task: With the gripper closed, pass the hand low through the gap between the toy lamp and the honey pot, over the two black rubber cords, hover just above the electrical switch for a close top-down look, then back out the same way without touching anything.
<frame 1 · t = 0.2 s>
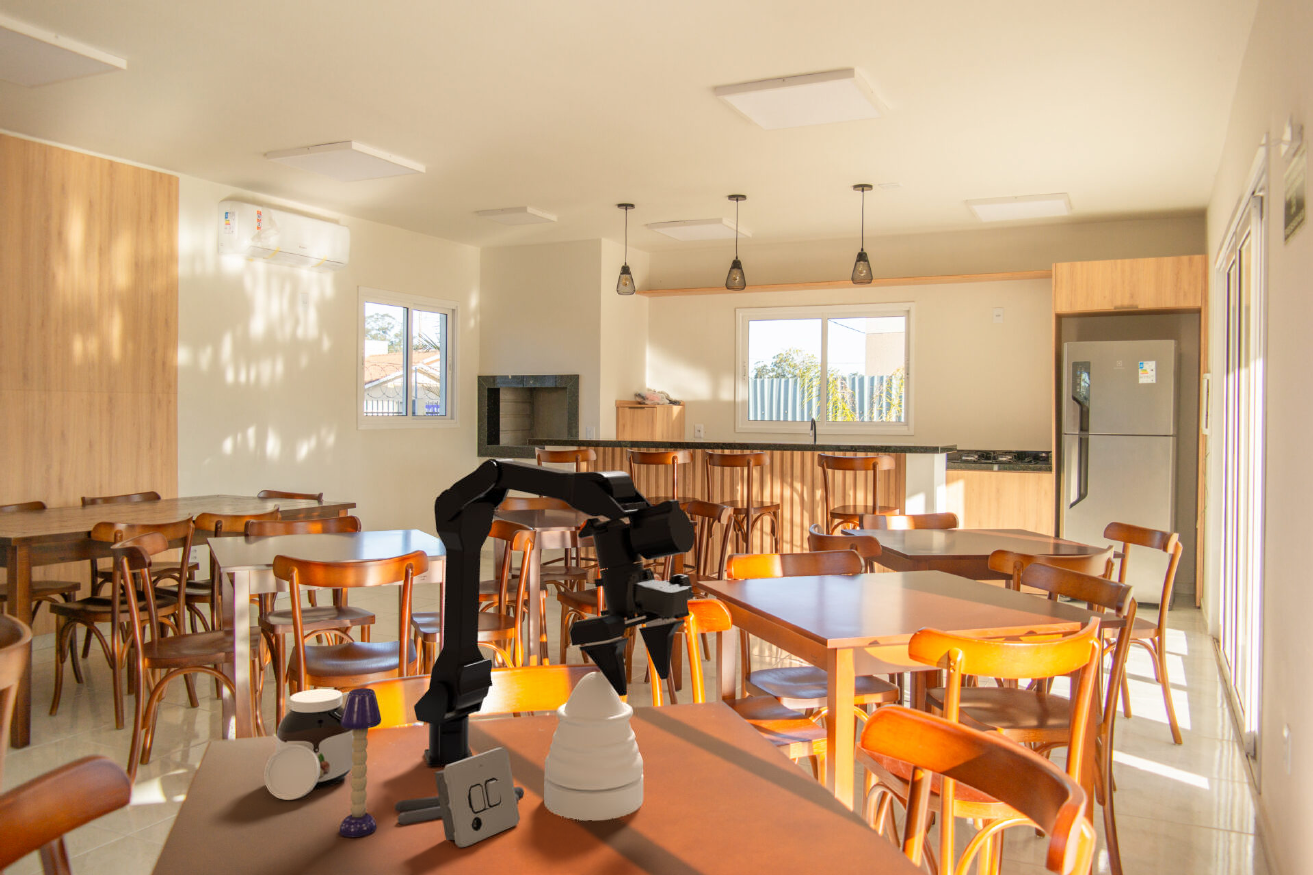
hand: (644, 686, 120), 15 cm above the table, tool pointing down, fingers open, 9 cm apart
cord 1: (460, 804, 121), on the table
cord 2: (459, 814, 118), on the table
toy lamp: (360, 831, 113), on the table
spread jar: (310, 787, 127), on the table
honey pot: (593, 802, 122), on the table
electrical switch: (475, 833, 112), on the table
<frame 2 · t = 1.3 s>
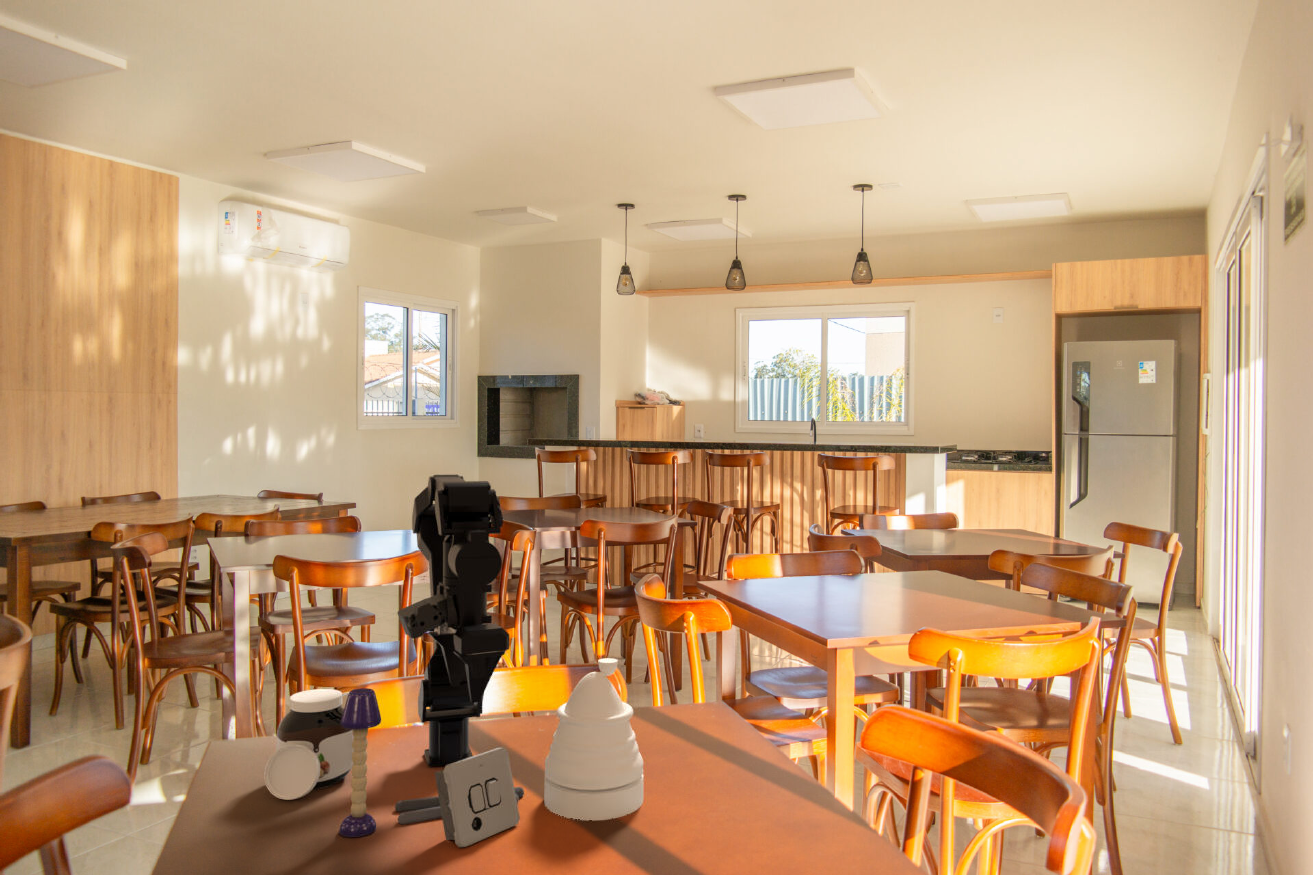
hand: (464, 693, 124), 13 cm above the table, tool pointing down, fingers open, 9 cm apart
nothing on the table moved.
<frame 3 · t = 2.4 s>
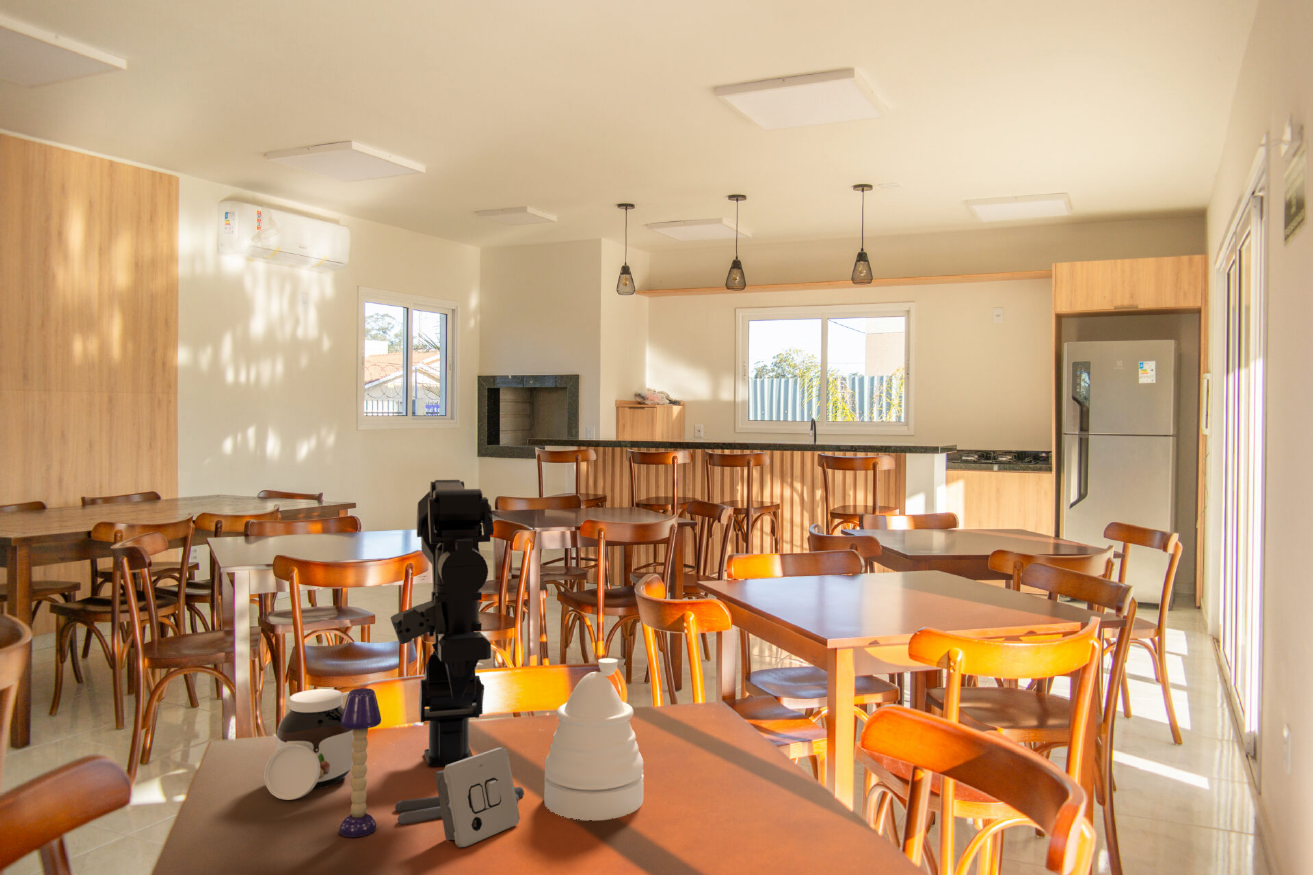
hand: (456, 699, 126), 12 cm above the table, tool pointing down, fingers closed
nothing on the table moved.
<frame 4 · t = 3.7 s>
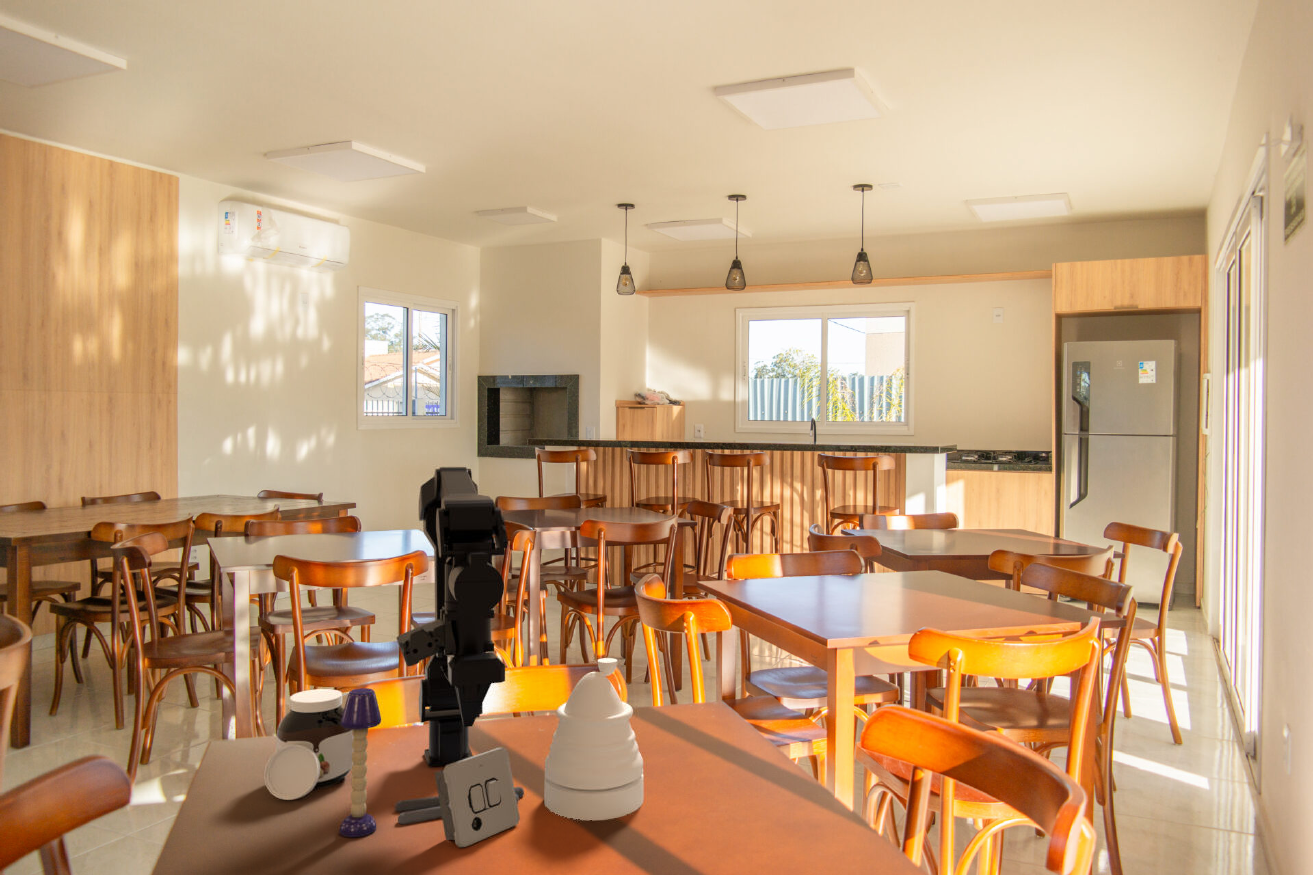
hand: (467, 725, 117), 11 cm above the table, tool pointing down, fingers closed
nothing on the table moved.
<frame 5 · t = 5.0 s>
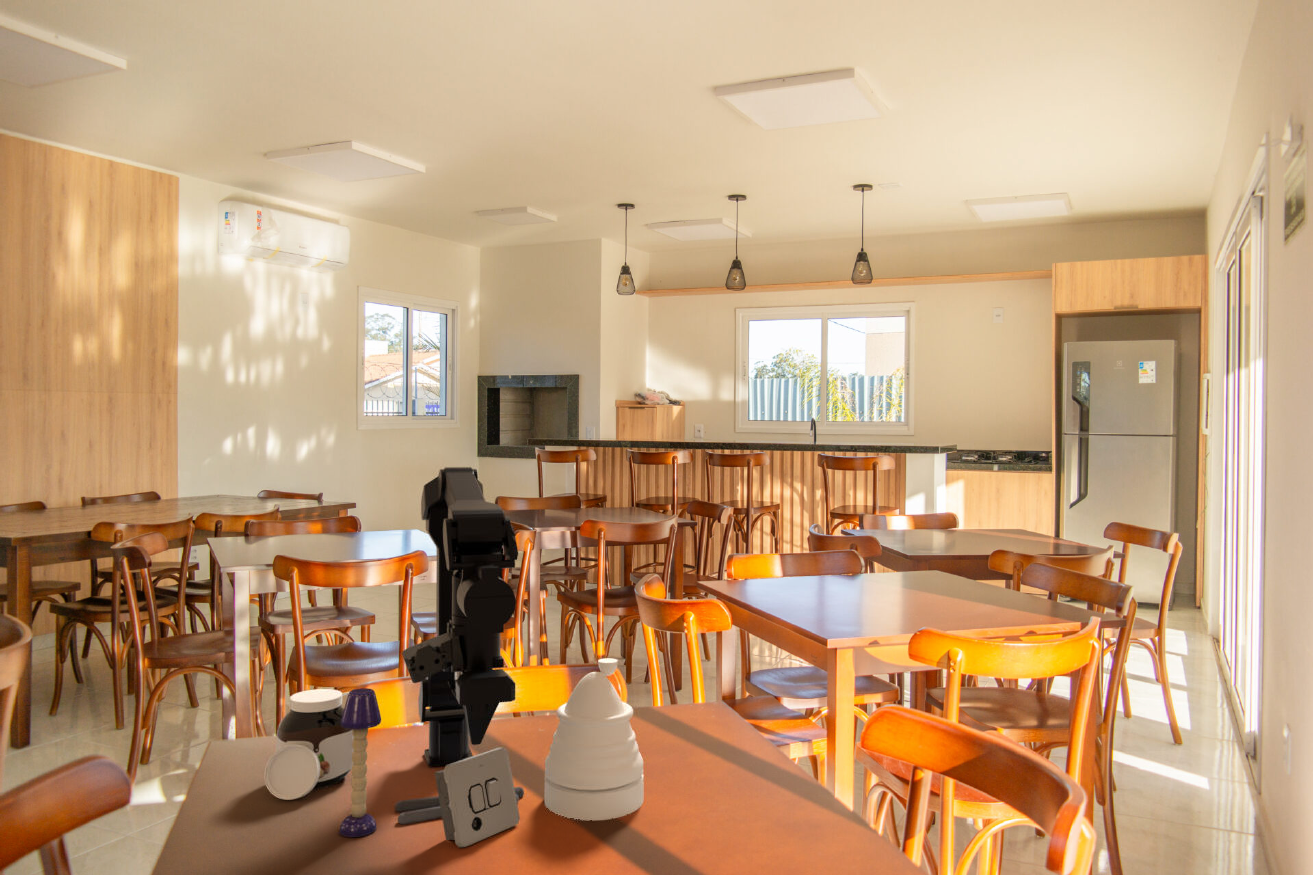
hand: (475, 743, 112), 11 cm above the table, tool pointing down, fingers closed
nothing on the table moved.
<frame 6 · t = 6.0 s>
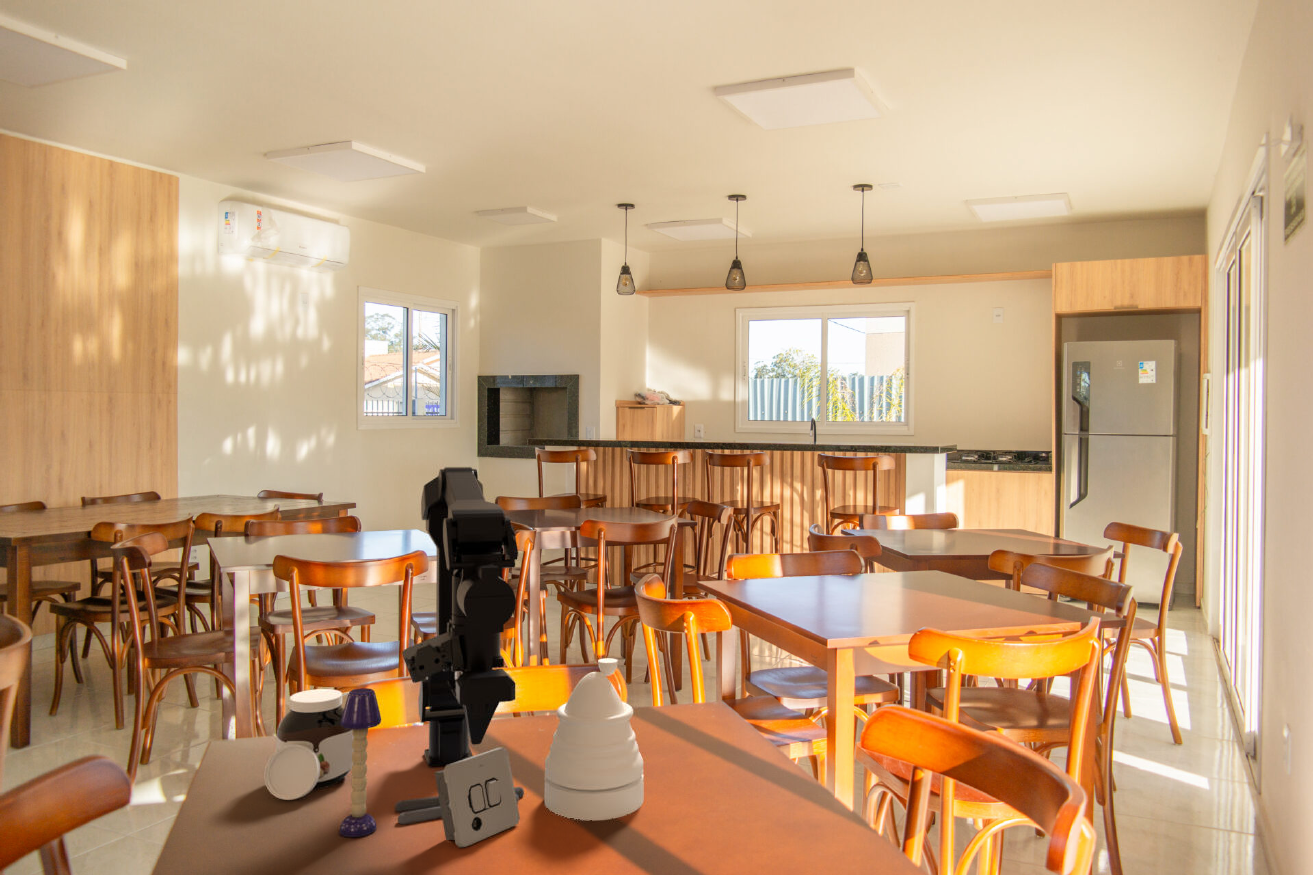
hand: (475, 743, 112), 11 cm above the table, tool pointing down, fingers closed
nothing on the table moved.
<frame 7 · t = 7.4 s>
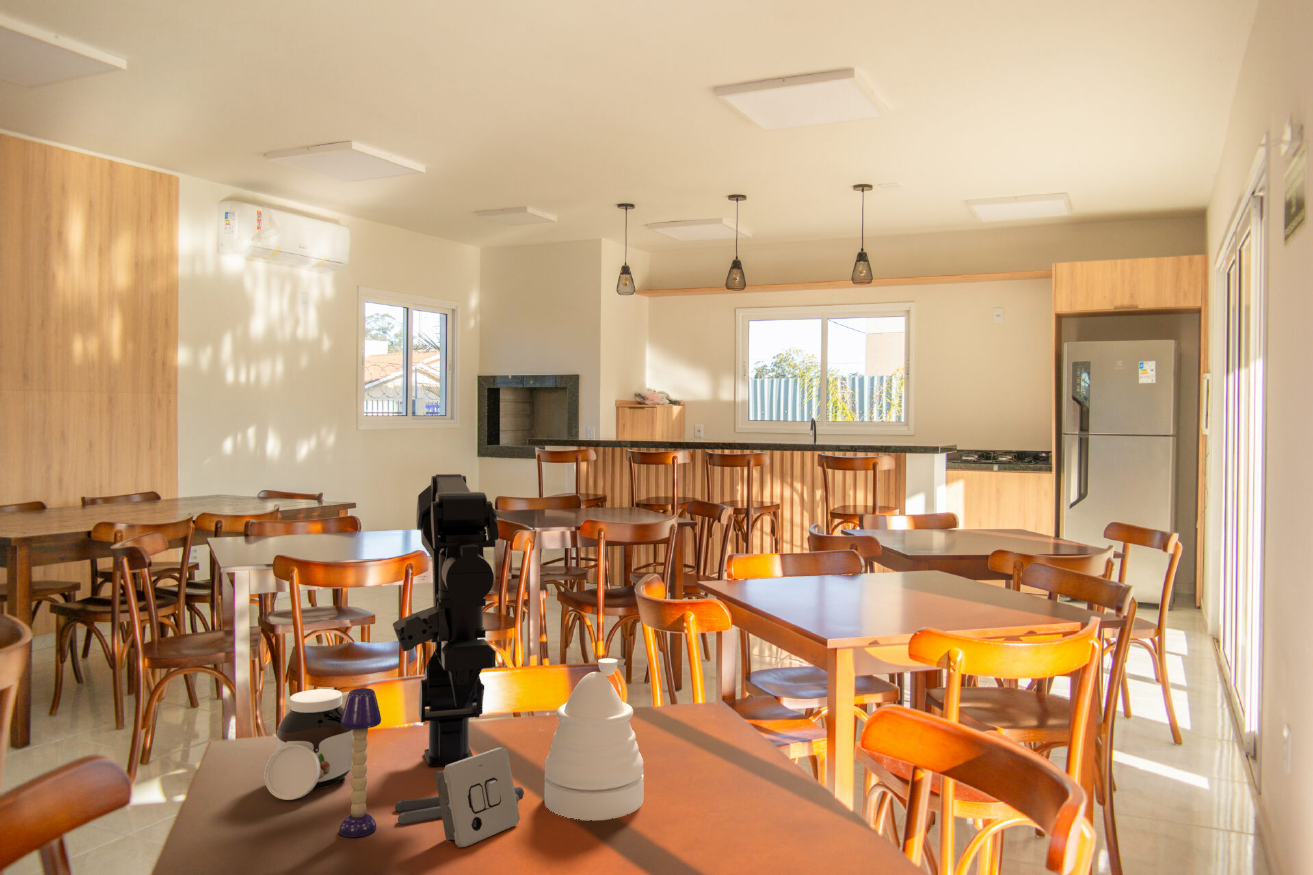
hand: (460, 707, 123), 12 cm above the table, tool pointing down, fingers closed
nothing on the table moved.
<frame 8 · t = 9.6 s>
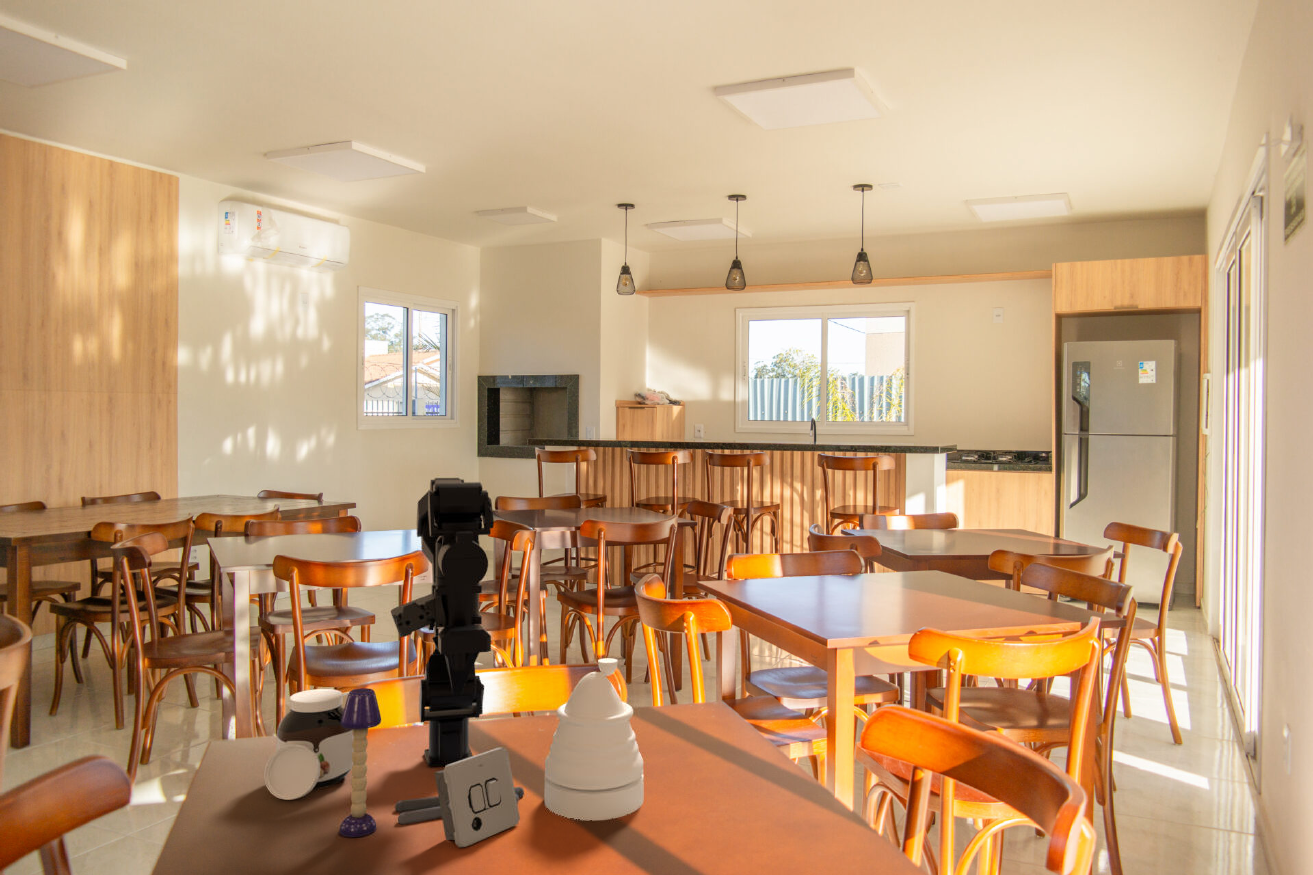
hand: (457, 693, 125), 13 cm above the table, tool pointing down, fingers closed
nothing on the table moved.
at the end: electrical switch moved 0.3 cm from its start; toy lamp moved 0.2 cm from its start; honey pot moved 0.3 cm from its start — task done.
